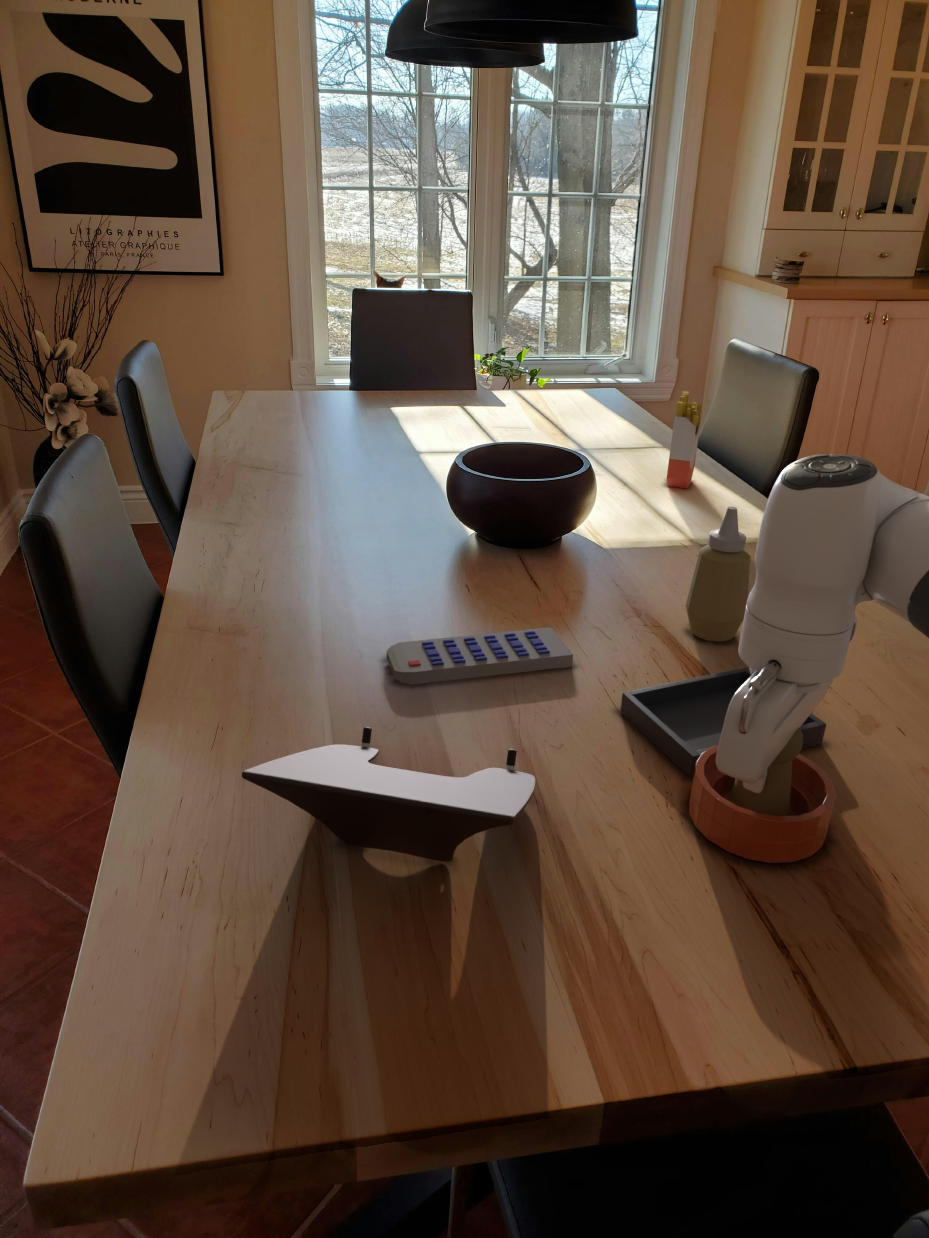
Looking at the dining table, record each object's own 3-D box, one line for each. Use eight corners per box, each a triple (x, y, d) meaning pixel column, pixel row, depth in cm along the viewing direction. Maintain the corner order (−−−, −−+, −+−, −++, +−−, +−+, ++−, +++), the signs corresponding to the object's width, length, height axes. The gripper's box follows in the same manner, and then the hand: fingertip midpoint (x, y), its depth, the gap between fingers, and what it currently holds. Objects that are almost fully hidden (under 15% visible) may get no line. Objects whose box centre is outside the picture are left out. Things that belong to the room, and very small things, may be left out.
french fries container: (694, 478, 189) (707, 391, 181) (687, 492, 179) (700, 402, 172) (672, 475, 190) (684, 389, 182) (664, 489, 181) (676, 399, 173)
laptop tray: (537, 843, 92) (548, 753, 92) (504, 908, 69) (519, 790, 69) (325, 806, 96) (336, 721, 96) (229, 857, 74) (243, 746, 74)
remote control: (572, 668, 114) (573, 652, 113) (396, 686, 108) (396, 670, 107) (550, 639, 121) (551, 625, 120) (384, 655, 115) (384, 640, 114)
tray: (743, 685, 110) (746, 666, 109) (822, 743, 99) (826, 723, 98) (620, 711, 104) (622, 692, 103) (689, 777, 93) (693, 756, 92)
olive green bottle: (752, 845, 83) (773, 746, 78) (710, 807, 88) (728, 711, 83) (802, 829, 85) (825, 731, 81) (759, 793, 90) (779, 699, 85)
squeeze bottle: (727, 618, 127) (747, 497, 120) (752, 644, 120) (776, 517, 112) (673, 621, 126) (690, 499, 118) (696, 648, 119) (716, 519, 111)
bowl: (764, 771, 94) (773, 731, 92) (853, 845, 84) (865, 802, 82) (663, 797, 90) (669, 755, 88) (744, 879, 79) (754, 834, 77)
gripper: (787, 702, 69) (757, 844, 75) (863, 614, 84) (832, 738, 90) (710, 676, 72) (687, 813, 79) (796, 596, 87) (771, 717, 93)
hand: (765, 772), depth 84 cm, fingers closed on olive green bottle, 4 cm apart
